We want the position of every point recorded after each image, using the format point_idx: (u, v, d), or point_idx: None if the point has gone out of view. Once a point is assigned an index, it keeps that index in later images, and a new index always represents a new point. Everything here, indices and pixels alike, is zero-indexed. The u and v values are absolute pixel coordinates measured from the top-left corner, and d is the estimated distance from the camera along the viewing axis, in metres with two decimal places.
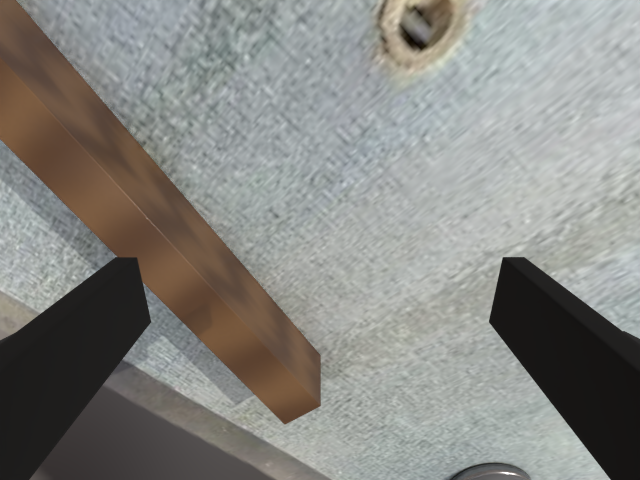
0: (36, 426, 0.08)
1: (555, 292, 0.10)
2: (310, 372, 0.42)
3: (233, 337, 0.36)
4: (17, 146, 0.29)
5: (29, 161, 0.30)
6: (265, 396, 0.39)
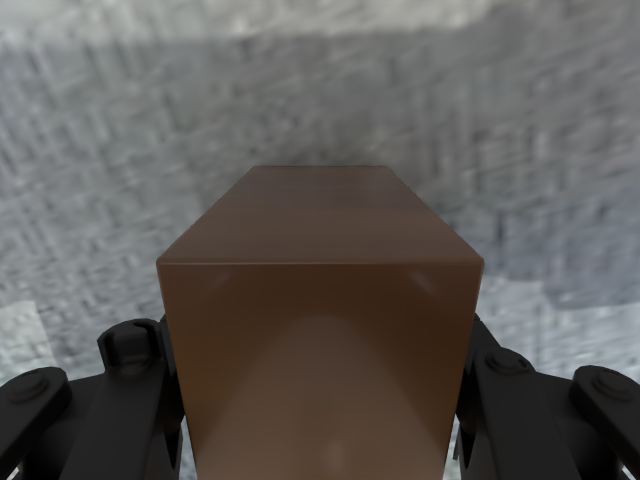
0: None
1: None
2: None
3: None
4: None
5: None
6: None
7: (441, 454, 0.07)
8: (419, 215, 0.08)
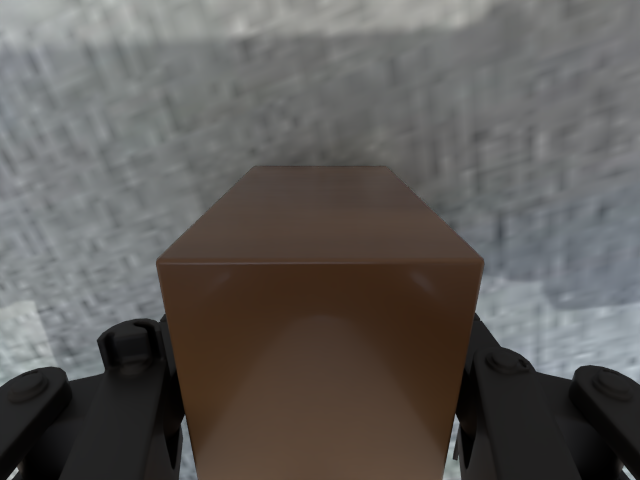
0: None
1: None
2: None
3: None
4: None
5: None
6: None
7: (441, 454, 0.07)
8: (419, 215, 0.08)
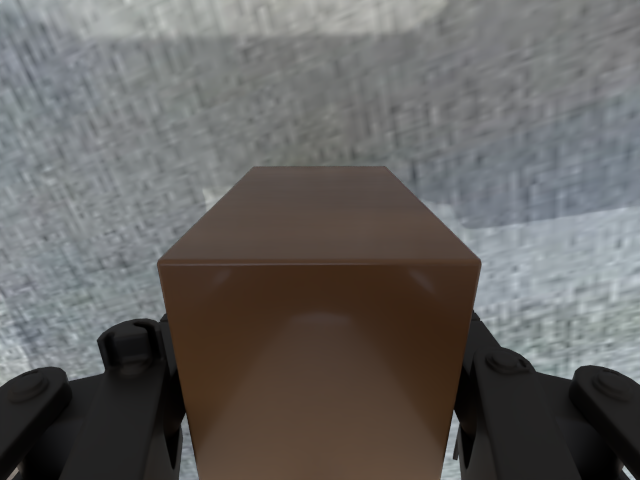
0: None
1: None
2: None
3: None
4: None
5: None
6: None
7: (439, 453, 0.07)
8: (418, 216, 0.08)
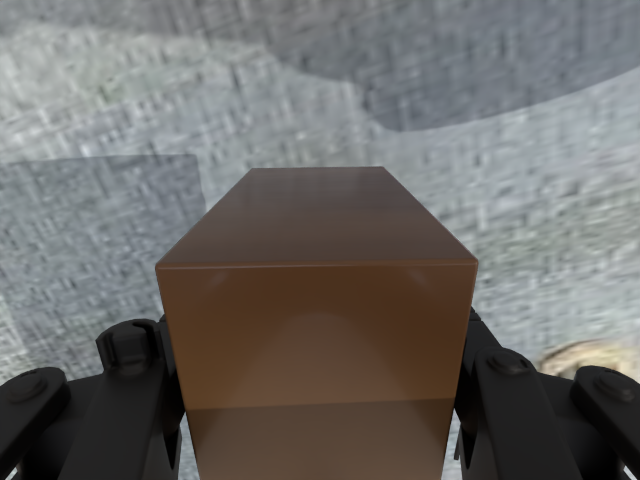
0: None
1: None
2: None
3: None
4: None
5: None
6: None
7: (440, 452, 0.07)
8: (415, 216, 0.08)
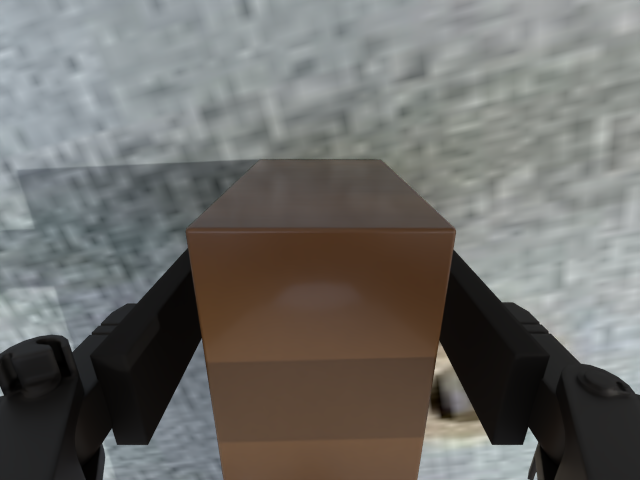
0: (162, 379, 0.09)
1: (458, 269, 0.11)
2: None
3: None
4: None
5: None
6: None
7: (424, 402, 0.08)
8: (406, 198, 0.09)
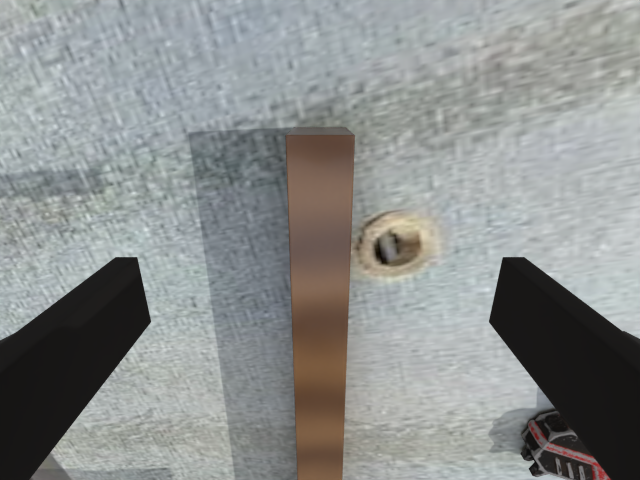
0: (36, 426, 0.08)
1: (555, 292, 0.10)
2: None
3: None
4: (299, 303, 0.31)
5: (297, 315, 0.32)
6: None
7: (350, 191, 0.28)
8: (346, 132, 0.28)
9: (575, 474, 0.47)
